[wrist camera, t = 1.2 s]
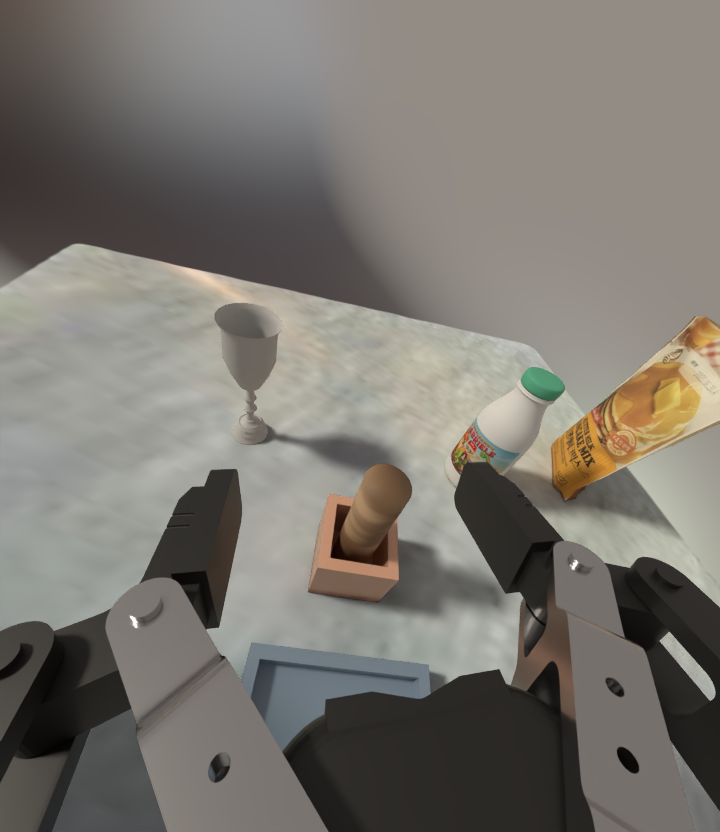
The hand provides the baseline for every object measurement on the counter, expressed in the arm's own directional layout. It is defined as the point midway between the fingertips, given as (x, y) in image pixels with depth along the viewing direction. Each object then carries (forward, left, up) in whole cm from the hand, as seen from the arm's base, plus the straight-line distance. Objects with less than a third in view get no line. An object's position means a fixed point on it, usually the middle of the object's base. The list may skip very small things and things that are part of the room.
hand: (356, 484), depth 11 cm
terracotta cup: (+5, +8, -27) cm, 28 cm away
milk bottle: (+23, +24, -27) cm, 43 cm away
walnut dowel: (+5, +8, -26) cm, 28 cm away
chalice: (-11, +24, -27) cm, 38 cm away
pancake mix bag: (+44, +30, -27) cm, 60 cm away
